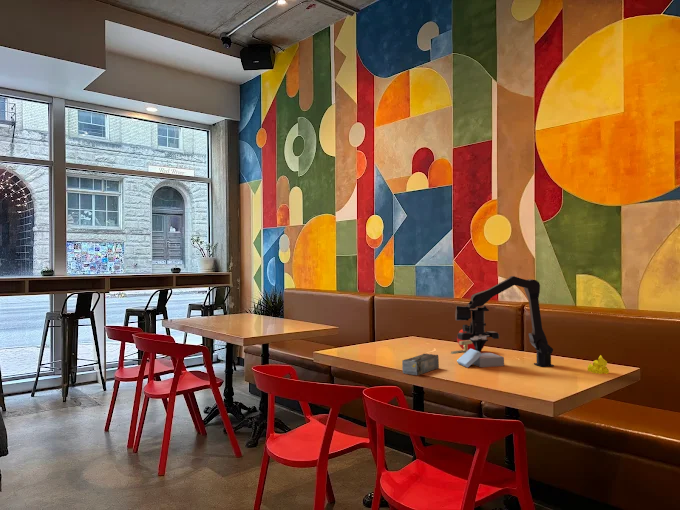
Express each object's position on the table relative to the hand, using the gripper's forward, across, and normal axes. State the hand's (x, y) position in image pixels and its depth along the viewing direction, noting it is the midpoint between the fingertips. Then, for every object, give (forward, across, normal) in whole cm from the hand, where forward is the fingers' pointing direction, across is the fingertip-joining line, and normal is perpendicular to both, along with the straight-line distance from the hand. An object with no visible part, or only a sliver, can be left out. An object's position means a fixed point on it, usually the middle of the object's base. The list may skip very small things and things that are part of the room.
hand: (478, 354), depth 240 cm
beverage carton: (+6, +30, +5) cm, 31 cm away
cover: (+2, +4, 0) cm, 5 cm away
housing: (+5, -4, -4) cm, 7 cm away
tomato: (+5, -13, -33) cm, 36 cm away
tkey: (+5, +4, -10) cm, 12 cm away
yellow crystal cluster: (+5, -42, +27) cm, 50 cm away
